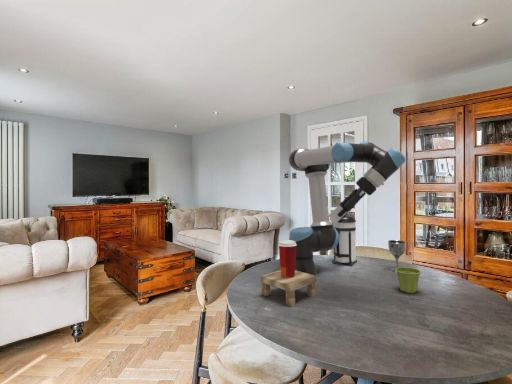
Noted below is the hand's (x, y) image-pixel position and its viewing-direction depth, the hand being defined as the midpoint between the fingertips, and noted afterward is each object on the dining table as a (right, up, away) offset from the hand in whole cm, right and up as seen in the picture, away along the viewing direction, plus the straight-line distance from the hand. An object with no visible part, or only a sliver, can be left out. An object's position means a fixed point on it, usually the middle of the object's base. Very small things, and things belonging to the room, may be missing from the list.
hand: (331, 219), depth 117 cm
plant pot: (+33, -30, +3) cm, 45 cm away
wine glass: (+43, -30, +32) cm, 61 cm away
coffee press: (+20, -30, +46) cm, 59 cm away
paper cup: (-18, -23, 0) cm, 29 cm away
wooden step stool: (-17, -31, 0) cm, 35 cm away
